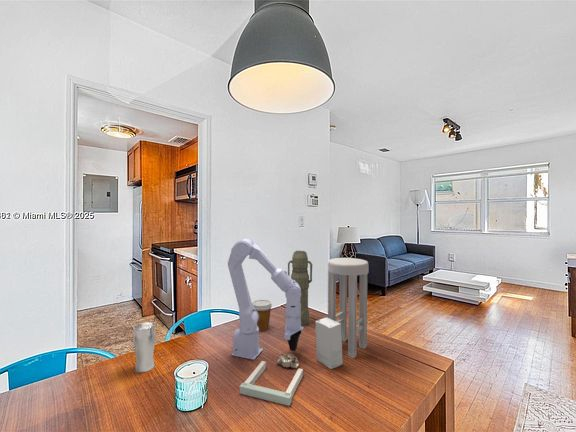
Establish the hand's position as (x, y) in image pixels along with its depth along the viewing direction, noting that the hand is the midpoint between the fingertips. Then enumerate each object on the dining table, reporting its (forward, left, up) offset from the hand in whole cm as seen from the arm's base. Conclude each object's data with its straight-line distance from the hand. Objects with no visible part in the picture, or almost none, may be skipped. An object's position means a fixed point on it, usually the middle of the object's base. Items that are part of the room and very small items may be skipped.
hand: (293, 350), depth 107 cm
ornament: (+1, -7, -2) cm, 7 cm away
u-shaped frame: (0, -19, -1) cm, 19 cm away
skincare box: (+14, -1, -2) cm, 14 cm away
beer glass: (-46, -26, -2) cm, 53 cm away
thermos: (-6, +29, -2) cm, 29 cm away
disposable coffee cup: (-21, +17, -2) cm, 27 cm away
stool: (+19, +12, -2) cm, 22 cm away
